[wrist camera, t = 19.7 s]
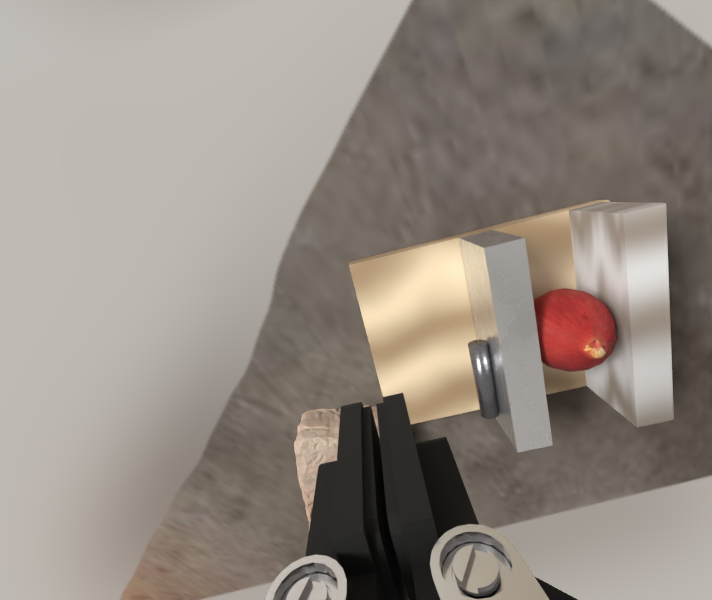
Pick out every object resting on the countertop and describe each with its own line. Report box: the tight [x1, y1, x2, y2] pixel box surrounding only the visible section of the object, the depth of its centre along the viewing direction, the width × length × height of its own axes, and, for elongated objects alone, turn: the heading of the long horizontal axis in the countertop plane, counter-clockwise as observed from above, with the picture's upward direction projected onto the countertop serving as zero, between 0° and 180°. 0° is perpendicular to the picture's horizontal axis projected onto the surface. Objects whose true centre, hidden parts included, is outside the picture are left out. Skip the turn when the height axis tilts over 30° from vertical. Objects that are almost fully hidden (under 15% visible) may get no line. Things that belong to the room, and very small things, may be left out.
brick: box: [294, 406, 380, 529], centre depth 35 cm, size 17×8×5 cm, turn 6°
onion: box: [534, 288, 617, 372], centre depth 27 cm, size 6×6×8 cm
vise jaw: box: [459, 230, 553, 453], centre depth 28 cm, size 15×4×6 cm, turn 14°
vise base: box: [349, 200, 674, 427], centre depth 29 cm, size 15×20×8 cm
